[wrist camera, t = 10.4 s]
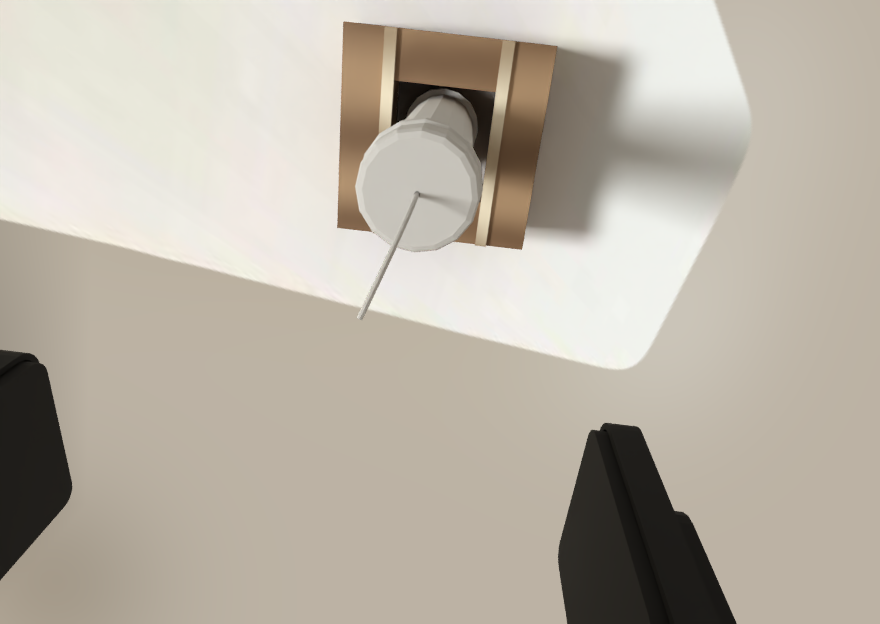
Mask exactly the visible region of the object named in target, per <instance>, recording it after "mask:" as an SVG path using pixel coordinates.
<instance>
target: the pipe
mask: <svg viewBox="0 0 880 624" xmlns="http://www.w3.org/2000/svg"><path fill="white" fill-rule="evenodd" d="M477 133H478V124H477V115H476V113H475V111H474V109H473V107H472V105H471V103H470V102H469V101H468V100H467V99H466V98H465V97H464V96H462V95H461V94H460V93H459V92H456V91H453V90H450V89H446V88H440V89H432V90H429V91H427V92H426V93H424V94H422V95H420V96H419V97H417V99H416V100H415V101H414V103H413V104H412V105H411V107H410V108H409V109H408V113H407V117H406V119H405V120H401V121H400V122H398V123H396V124H394V125H393V126H391V127H389V128H388V129H386V130H384V131H382V132H381V133H380V134H379V135H378V136H377V137H376V139H375V140H374V141H373V143H372V144H371V146H370V147H369V148H368V150H367V151H366V152H365V154H364V158H363V160H362V161H361V163H360V167H359V172H358V176H357V180H356V185H355V189H356V194H357V200H358V206H359V211H360V213H361V214H362V216H363V217H364V219H365V221H366V222H367V224H368V226H369V227H370V229H371V231H372V232H374V233H375V234H376V235H378V236H379V237H380V238H382V239H383V240H384V241H386V242H387V243H388V244H389V245H391V247H390V249H389V251H388V254H387V256H386V258H385V260H384V262H383V264H382V266H381V268H380V270H379V273H378V275H377V277H376V279H375V281H374V283H373V285H372V287H371V289H370V291H369V293H368V295H367V297H366V300H365V302H364V304H363V306H362V308H361V310H360V312H359V314H358V316H357V318H358V319H360V320H362V319H363V317H364V315H365V313H366V311H367V309H368V307H369V305H370V303H371V301H372V299H373V296H374V294H375V292H376V290H377V288H378V286H379V284H380V282H381V280H382V278H383V276H384V273H385V271H386V269H387V267H388V265H389V263H390V261H391V259H392V256H393V254H394V252H395V250H396V248H401V249H404V250H408V251H411V252H421V251H432V250H438V249H440V248H442V247H444V246H446V245H448V244H450V243H452V242H454V241H455V240H457V239H458V238H459V237H460V236H461V235H462V234H463V233H464V231H465V230H466V229H467V228H468V227H469V226H470V224H471V223H472V222H473V220H474V217H475V214H476V211H477V208H478V204H479V201H480V197H481V194H482V191H483V184H482V172H481V163H480V161H479V159H478V157H477V155H476V153H475V151H474V149H473V146H474V143H475V140H476V136H477Z"/></svg>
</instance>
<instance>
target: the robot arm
mask: <svg viewBox="0 0 880 624" xmlns="http://www.w3.org/2000/svg"><path fill="white" fill-rule="evenodd" d="M71 491H72V481H71V476H70V472H69V467H68V463H67V458H66V454H65V449H64V445H63V440H62V436H61V431H60V426H59V422H58V418H57V413H56V408H55V404H54V399H53V395H52V391H51V386H50V381H49V377H48V372H47V369H46V367H45V366H44V365H43V364H40V363H39V361H38V359H37V358H36V357H35V356H34V355H32V354H30V353H22V352H13V351H6V350H0V580H1V579H2V578H3V576H4V575H5V574H6V573H7V572H8V571H9V569H10V568H11V567H12V566H13V565H14V564H15V562H17V560H18V559H19V558H20V557H21V556H22V555H23V553H24V552H25V551H26V550H27V549H28V548H29V547H30V545H31V544H32V543H33V542H34V541H35V540H36V538H37V537H38V536H39V535H40V534H41V533H42V532H43V530H44V529H45V528H46V527H47V526H48V525H49V524H50V523H51V521H52V520H53V519H54V518H55V517H56V516H57V514H58V513H59V512H60V511H61V510H62V509H63V508H64V506H65V505H66V504H67V502H68V500H69V498H70V495H71ZM558 563H559V571H560V578H561V585H562V591H563V598H564V604H565V611H566V617H567V624H736V621H735V619H734V617H733V614H732V612H731V610H730V607H729V605H728V603H727V601H726V598H725V596H724V594H723V592H722V589H721V587H720V585H719V582H718V580H717V578H716V576H715V573H714V571H713V569H712V566H711V564H710V562H709V560H708V557H707V555H706V553H705V551H704V548H703V546H702V544H701V541H700V539H699V537H698V535H697V532H696V530H695V528H694V525H693V523H692V522H691V520H690V518H689V517H688V516H687V515H686V514H685V513H683V512H677V511H674V509H673V507H672V504H671V502H670V500H669V497H668V495H667V492H666V490H665V487H664V485H663V483H662V480H661V478H660V475H659V473H658V470H657V468H656V466H655V463H654V461H653V459H652V456H651V453H650V451H649V449H648V446H647V444H646V441H645V439H644V436H643V434H642V432H641V430H640V429H639V428H638V427H636V426H628V425H619V424H611V423H604V424H603V425H602V427H601V429H600V431H597V430H591V432H590V433H589V435H588V439H587V442H586V446H585V450H584V454H583V458H582V461H581V465H580V469H579V473H578V476H577V480H576V484H575V488H574V491H573V495H572V499H571V503H570V506H569V510H568V514H567V518H566V521H565V525H564V529H563V533H562V537H561V540H560V545H559V554H558Z"/></svg>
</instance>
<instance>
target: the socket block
mask: <svg viewBox="0 0 880 624" xmlns="http://www.w3.org/2000/svg"><path fill="white" fill-rule="evenodd" d="M556 51H557V46H551V45H543V44H535V43H526V42H517V41H509V40H500V39H491V38H483V37H474V36H466V35H457V34H448V33H440V32H431V31H422V30H414V29H405V28H396V27H388V26H379V25H371V24H362V23H353V22H343V55H342V89H341V123H340V157H339V191H338V225H337V228H344V229H353V230H361V231H369V232H372V231H371V229H370V227H369V226H368V224H367V222H366V221H365V219H364V217H363V216H362V214H361V213H360V211H359V206H358V200H357V194H356V189H355V185H356V180H357V176H358V172H359V167H360V163H361V161H362V160H363V158H364V154H365V152H366V151H367V150H368V148H369V147H370V146H371V144H372V143H373V141H374V140H375V139H376V137H377V136H378V135H379V134H380V133H381V132H382V131H384V130H386V129H388V128H389V127H391V126H393V125H394V124H396V122H397V107H398V93H399V81H404V82H413V83H422V84H430V85H439V86H447V87H456V88H464V89H473V90H482V91H490V92H496V95H495V102H494V109H493V117H492V124H491V131H490V139H489V146H488V153H487V160H486V168H485V175H484V182H483V191H482V194H481V197H480V201H479V204H478V208H477V211H476V214H475V217H474V220H473V222H472V223H471V224H470V226H469V227H468V228H467V229H466V230H465V231H464V233H463V234H462V235H461V236H460V237H459V238H458V239H457V240H455V241H454V242H462V243H470V244H475V245H476V246H485V247H486V245H487V246H496V247H504V248H512V249H521V250H522V246H523V241H524V235H525V229H526V223H527V218H528V212H529V206H530V200H531V195H532V189H533V183H534V177H535V172H536V166H537V160H538V155H539V149H540V143H541V137H542V132H543V126H544V120H545V114H546V109H547V103H548V97H549V91H550V86H551V80H552V74H553V68H554V63H555V57H556ZM373 233H374V232H373Z"/></svg>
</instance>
